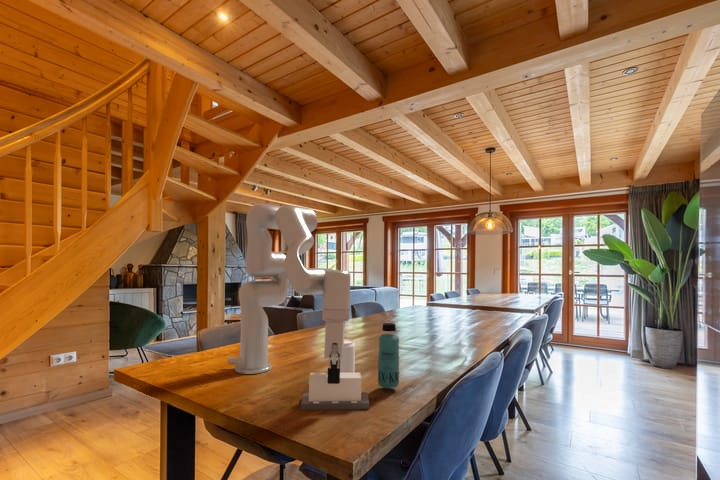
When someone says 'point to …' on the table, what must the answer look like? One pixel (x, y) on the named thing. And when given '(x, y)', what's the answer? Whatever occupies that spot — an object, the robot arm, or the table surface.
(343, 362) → the beverage can
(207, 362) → the table surface
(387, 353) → the beverage bottle
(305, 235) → the robot arm
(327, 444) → the table surface
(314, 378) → the white rectangular block
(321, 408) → the header
